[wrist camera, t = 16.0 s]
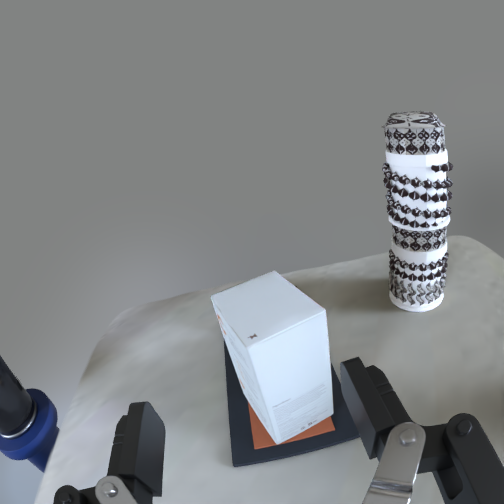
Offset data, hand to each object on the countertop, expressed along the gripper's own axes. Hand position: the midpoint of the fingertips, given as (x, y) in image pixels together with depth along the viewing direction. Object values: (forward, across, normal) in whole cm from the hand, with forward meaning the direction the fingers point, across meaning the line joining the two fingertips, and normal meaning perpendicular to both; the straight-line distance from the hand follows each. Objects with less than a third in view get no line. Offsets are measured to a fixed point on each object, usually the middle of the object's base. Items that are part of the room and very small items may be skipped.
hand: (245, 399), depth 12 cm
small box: (+11, -2, +16) cm, 20 cm away
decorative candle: (+23, -24, +17) cm, 37 cm away
